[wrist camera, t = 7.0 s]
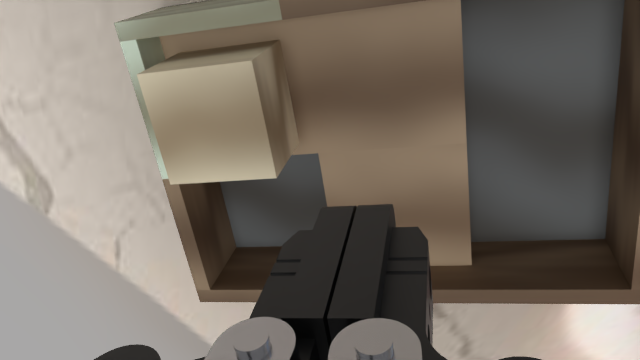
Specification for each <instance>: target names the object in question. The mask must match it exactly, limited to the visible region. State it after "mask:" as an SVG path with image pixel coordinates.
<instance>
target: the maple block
mask: <svg viewBox="0 0 640 360" xmlns="http://www.w3.org/2000/svg"><path fill="white" fill-rule="evenodd" d="M137 77H138V81H139V84H140V87H141V90H142V94H143V97H144V100H145V103H146V107H147V110H148V113H149V116H150V120H151V123H152V126H153V129H154V133H155V136H156V139H157V142H158V146H159V149H160V152H161V155H162V159H163V162H164V165H165V168H166V172H167V175H168V178H169V181H170V185H173V184H189V183H206V182H223V181H239V180H256V179H273V178H277V177H278V176H279V174H280V172H281V171H282V169H283V168H284V166H285V164H286V163H287V161H288V160H289V158H290V156H291V155H292V153H293V152H294V150H295V149H296V147H297V145H298V144H299V139H298V134H297V129H296V123H295V118H294V113H293V107H292V102H291V97H290V91H289V86H288V81H287V75H286V70H285V65H284V59H283V54H282V49H281V43H280V39H279V40H272V41H264V42H256V43H249V44H241V45H233V46H225V47H218V48H210V49H202V50H195V51H187V52H179V53H177V54H176V55H174V56H172V57H170V58H168V59H166V60H164V61H162V62H160V63H158V64H156V65H154V66H152V67H150V68H148V69H146V70H144V71H142V72H140V73H139V74H137Z"/></svg>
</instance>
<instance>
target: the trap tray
mask: <svg viewBox="0 0 640 360" xmlns="http://www.w3.org/2000/svg"><path fill="white" fill-rule="evenodd" d="M114 25H115V28H116V31H117V34H118V38H119V41H120V44H121V47H122V51H123V54H124V57H125V60H126V64H127V67H128V70H129V73H130V76H131V80H132V83H133V86H134V89H135V93H136V96H137V99H138V102H139V106H140V109H141V112H142V115H143V118H144V122H145V125H146V128H147V131H148V135H149V138H150V141H151V144H152V148H153V151H154V154H155V157H156V160H157V164H158V167H159V170H160V173H161V177H162V180H163V183H164V186H165V190H166V193H167V196H168V199H169V202H170V206H171V209H172V212H173V215H174V219H175V222H176V225H177V228H178V232H179V235H180V238H181V241H182V245H183V248H184V251H185V254H186V257H187V261H188V264H189V267H190V270H191V274H192V277H193V280H194V283H195V287H196V290H197V293H198V296H199V299H200V302H257V301H258V298H259V296H260V294H261V292H262V290H263V287H264V285H265V283H266V281H267V279H268V277H269V276H270V272H271V270H272V268H273V266H274V263H276V259H277V257H278V255H279V253H280V250H281V248H282V246H283V244H284V243H285V242H286V241H287V240H288V239H290V238H291V237H292V236H293V235H294V234H295V233H296V232H297V231H299V230H313V227H314V225H315V222H316V220H317V217H318V215H319V212H320V210H321V208H322V207H333V206H358V205H378V204H393V207H394V213H395V221H396V227H419V229H420V230H421V231H422V233H423V234H424V236H425V237H426V238H427V240H428V246H429V258H430V271H431V283H432V296H433V303H517V304H640V0H210V1H203V2H197V3H190V4H183V5H177V6H170V7H163V8H160V9H157V10H154V11H150V12H147V13H144V14H141V15H138V16H135V17H132V18H129V19H126V20H122V21H119V22H116V23H114ZM279 39H280V43H281V49H282V54H283V59H284V65H285V70H286V75H287V81H288V86H289V91H290V97H291V102H292V107H293V113H294V118H295V123H296V129H297V134H298V139H299V144H298V145H297V147H296V149H295V150H294V152H293V153H292V155H291V156H290V158H289V160H288V161H287V163H286V164H285V166H284V168H283V169H282V171H281V172H280V174H279V176H278V177H277V178H273V179H256V180H239V181H223V182H206V183H189V184H173V185H170V181H169V178H168V175H167V172H166V168H165V165H164V162H163V159H162V155H161V152H160V149H159V146H158V142H157V139H156V136H155V133H154V129H153V126H152V123H151V120H150V116H149V113H148V110H147V107H146V103H145V100H144V97H143V94H142V90H141V87H140V84H139V81H138V77H137V74H139V73H140V72H142V71H144V70H146V69H148V68H150V67H152V66H154V65H156V64H158V63H160V62H162V61H164V60H166V59H168V58H170V57H172V56H174V55H176V54H177V53H179V52H187V51H195V50H202V49H210V48H218V47H225V46H233V45H241V44H249V43H256V42H264V41H272V40H279Z"/></svg>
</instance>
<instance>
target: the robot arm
mask: <svg viewBox="0 0 640 360" xmlns="http://www.w3.org/2000/svg"><path fill="white" fill-rule="evenodd" d="M432 319H433V296H432V283H431V271H430V258H429V246H428V240H427V238H426V237H425V236H424V234H423V233H422V231H421V230H420V229H419V227H396V221H395V213H394V207H393V204H378V205H358V206H333V207H322V208H321V210H320V212H319V215H318V217H317V220H316V222H315V225H314V227H313V230H299V231H297V232H296V233H295V234H294V235H293V236H292V237H291V238H290V239H288V240H287V241H286V242H285V243H284V244H283V246H282V248H281V250H280V253H279V255H278V257H277V259H276V263H274V266H273V268H272V270H271V272H270V276H269V277H268V279H267V281H266V283H265V285H264V287H263V290H262V292H261V294H260V296H259V298H258V301H257V303H256V305H255V307H254V309H253V312H252V314H251V316H250V318H249V319H247V320H244V321H241V322H239V323H237V324H235V325H233V326H231V327H230V328H228V329H227V330H226V331H224V332H223V333H222V334H221V335H220V336H219V337H218V338H217V340H216V341H215V342H214V344H213V346H212V347H211V349H210V350H209V352H208V354H207V356H206V357H203V358H200V359H195V360H447V359H446V358H444V357H443V356H441V355H440V354H439V353H438V352H437V351H436V350H435V349H434V348H433V347H432V334H433V320H432ZM94 360H161V359H160V356H159V354H158V353H157V352H156V351H155V350H154V349H153V348H151V347H149V346H145V345H128V346H123V347H120V348H116V349H114V350H111V351H109V352H107V353H105V354H103V355H101V356H99V357H98V358H96V359H94ZM500 360H541V359H536V358H531V357H509V358H504V359H500Z"/></svg>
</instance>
